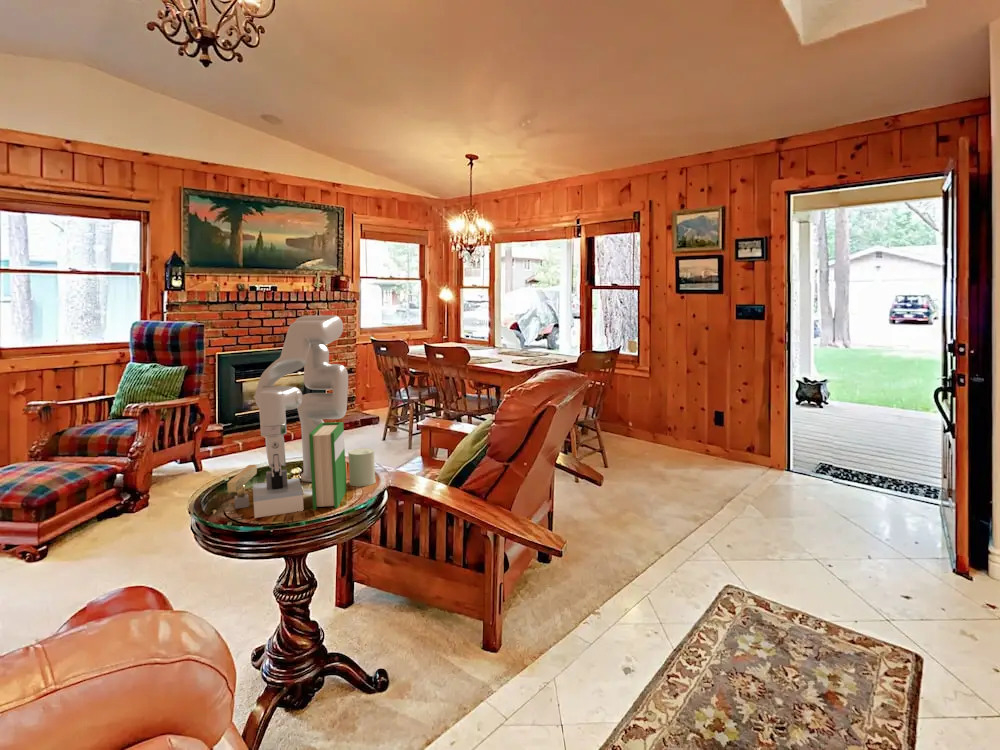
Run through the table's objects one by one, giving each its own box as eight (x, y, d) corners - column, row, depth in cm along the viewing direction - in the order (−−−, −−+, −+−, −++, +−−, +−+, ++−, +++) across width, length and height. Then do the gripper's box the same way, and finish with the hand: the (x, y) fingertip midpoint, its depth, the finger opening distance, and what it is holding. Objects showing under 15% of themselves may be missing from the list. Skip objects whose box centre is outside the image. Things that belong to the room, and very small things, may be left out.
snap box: (299, 495, 189) (298, 481, 188) (303, 510, 175) (302, 495, 174) (235, 504, 181) (234, 489, 180) (234, 521, 167) (233, 504, 166)
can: (362, 488, 196) (361, 454, 195) (343, 484, 201) (342, 451, 200) (381, 481, 204) (379, 448, 203) (362, 477, 209) (361, 445, 208)
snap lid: (299, 482, 187) (298, 463, 186) (302, 494, 174) (301, 474, 173) (253, 488, 181) (251, 468, 180) (253, 501, 168) (252, 480, 168)
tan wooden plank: (250, 484, 192) (249, 464, 191) (257, 483, 192) (256, 464, 191) (228, 504, 172) (227, 482, 171) (237, 503, 172) (235, 482, 171)
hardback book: (337, 508, 176) (333, 433, 174) (313, 509, 176) (309, 434, 173) (346, 490, 194) (343, 422, 191) (324, 491, 193) (320, 422, 190)
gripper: (288, 433, 169) (291, 492, 172) (284, 423, 184) (288, 478, 186) (261, 436, 166) (265, 496, 168) (260, 426, 181) (263, 481, 183)
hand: (277, 486), depth 177 cm, fingers closed on snap lid, 3 cm apart
